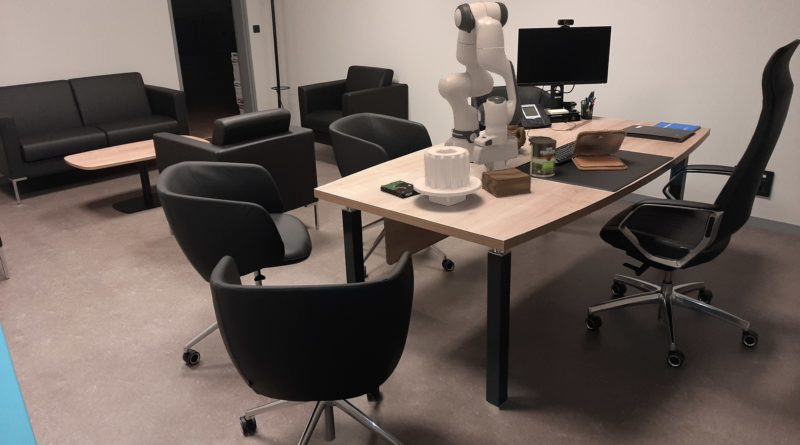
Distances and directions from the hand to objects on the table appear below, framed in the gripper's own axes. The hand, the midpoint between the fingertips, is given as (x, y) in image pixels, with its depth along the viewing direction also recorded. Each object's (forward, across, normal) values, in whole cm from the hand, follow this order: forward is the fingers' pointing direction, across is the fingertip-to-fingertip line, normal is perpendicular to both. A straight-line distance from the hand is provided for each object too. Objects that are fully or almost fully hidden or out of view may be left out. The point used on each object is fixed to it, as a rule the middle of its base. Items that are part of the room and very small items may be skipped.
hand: (495, 171), depth 256 cm
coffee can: (+3, -20, +5) cm, 21 cm away
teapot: (+3, -33, -33) cm, 47 cm away
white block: (+3, 0, 0) cm, 3 cm away
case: (+4, -49, +7) cm, 50 cm away
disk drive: (+4, +40, -7) cm, 41 cm away
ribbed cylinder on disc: (+3, +31, +12) cm, 33 cm away
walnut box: (+3, +6, +15) cm, 17 cm away
